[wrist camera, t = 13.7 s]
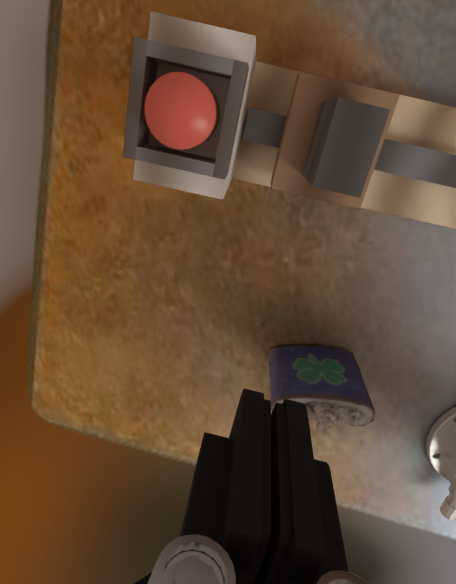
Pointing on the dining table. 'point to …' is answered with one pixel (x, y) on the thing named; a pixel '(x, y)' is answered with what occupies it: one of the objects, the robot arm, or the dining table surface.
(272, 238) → the dining table surface
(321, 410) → the flask
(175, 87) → the red dome button
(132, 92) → the rail
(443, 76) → the dining table surface
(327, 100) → the carriage
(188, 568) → the robot arm
